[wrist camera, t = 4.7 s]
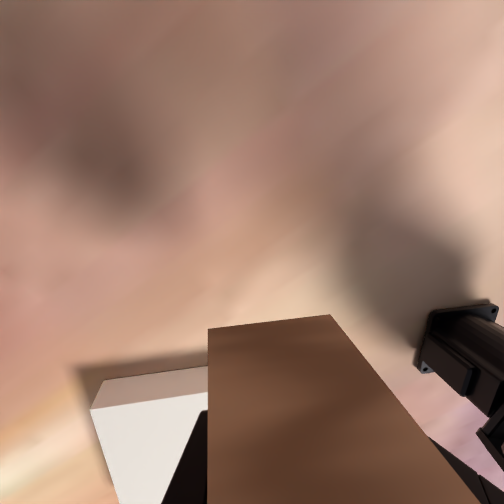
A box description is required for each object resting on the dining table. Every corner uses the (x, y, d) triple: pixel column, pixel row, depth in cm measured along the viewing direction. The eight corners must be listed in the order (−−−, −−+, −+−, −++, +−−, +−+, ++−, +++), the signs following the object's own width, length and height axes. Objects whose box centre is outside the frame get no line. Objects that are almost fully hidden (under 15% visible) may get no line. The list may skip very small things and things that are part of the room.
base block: (283, 355, 21) (293, 379, 19) (282, 461, 26) (289, 490, 23) (103, 380, 20) (89, 409, 17) (134, 489, 24) (126, 525, 22)
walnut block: (330, 314, 10) (584, 634, 3) (322, 404, 11) (484, 748, 5) (208, 328, 9) (207, 769, 2) (217, 422, 11) (231, 848, 4)
